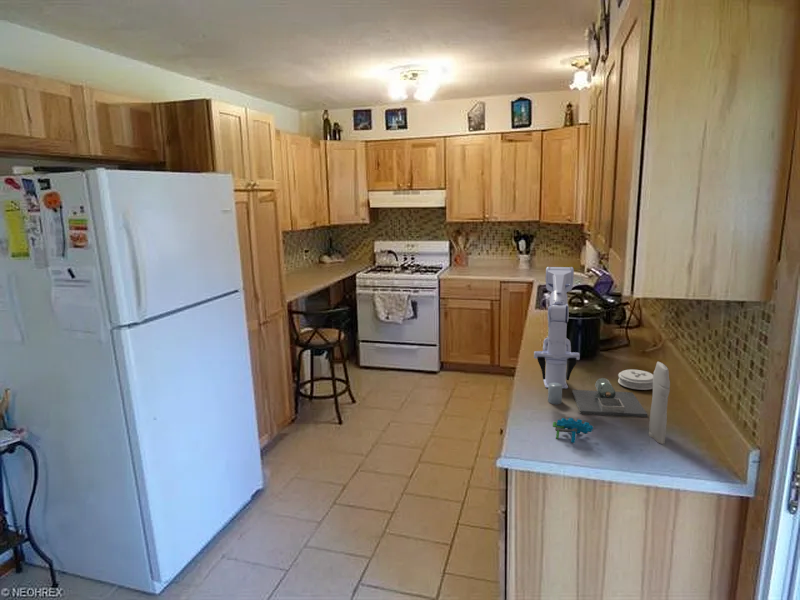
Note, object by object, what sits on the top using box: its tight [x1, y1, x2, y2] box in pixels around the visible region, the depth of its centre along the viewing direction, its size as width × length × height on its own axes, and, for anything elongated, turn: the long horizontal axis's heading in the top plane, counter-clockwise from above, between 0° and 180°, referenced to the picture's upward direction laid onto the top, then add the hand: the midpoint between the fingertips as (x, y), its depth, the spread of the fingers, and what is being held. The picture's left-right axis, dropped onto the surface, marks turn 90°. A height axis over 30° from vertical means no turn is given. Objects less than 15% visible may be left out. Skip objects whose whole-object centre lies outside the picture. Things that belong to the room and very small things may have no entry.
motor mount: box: [572, 377, 648, 418], centre depth 167 cm, size 18×20×6 cm
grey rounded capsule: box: [547, 383, 563, 405], centre depth 170 cm, size 4×4×6 cm
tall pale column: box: [648, 361, 671, 445], centre depth 142 cm, size 11×4×22 cm, turn 170°
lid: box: [617, 369, 654, 391], centre depth 183 cm, size 13×13×5 cm
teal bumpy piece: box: [552, 417, 594, 444], centre depth 143 cm, size 11×6×10 cm
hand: (555, 378), depth 169 cm, fingers open, 7 cm apart
